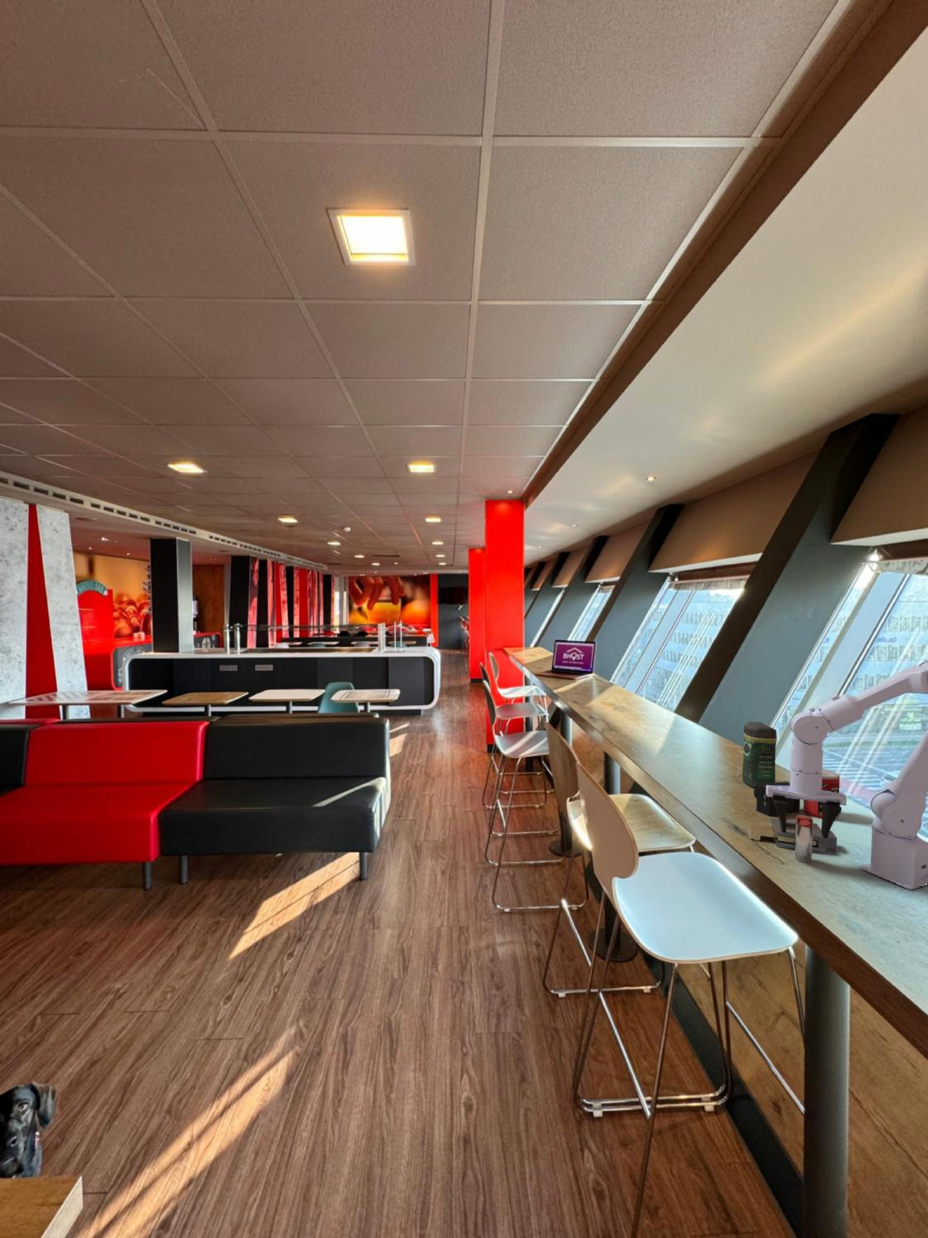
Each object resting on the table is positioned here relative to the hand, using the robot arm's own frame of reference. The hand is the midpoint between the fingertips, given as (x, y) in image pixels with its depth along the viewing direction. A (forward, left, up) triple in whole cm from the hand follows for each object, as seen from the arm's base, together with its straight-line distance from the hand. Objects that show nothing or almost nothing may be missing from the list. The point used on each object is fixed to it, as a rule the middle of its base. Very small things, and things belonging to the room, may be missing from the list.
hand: (803, 833), depth 119 cm
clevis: (+7, -6, -6) cm, 11 cm away
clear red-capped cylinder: (0, 0, -6) cm, 6 cm away
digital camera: (+23, -20, -6) cm, 31 cm away
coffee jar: (+40, -34, -6) cm, 53 cm away
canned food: (+17, -29, -6) cm, 34 cm away
